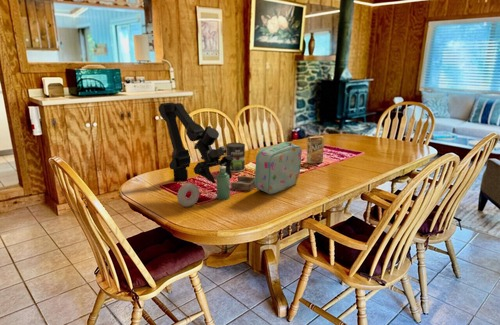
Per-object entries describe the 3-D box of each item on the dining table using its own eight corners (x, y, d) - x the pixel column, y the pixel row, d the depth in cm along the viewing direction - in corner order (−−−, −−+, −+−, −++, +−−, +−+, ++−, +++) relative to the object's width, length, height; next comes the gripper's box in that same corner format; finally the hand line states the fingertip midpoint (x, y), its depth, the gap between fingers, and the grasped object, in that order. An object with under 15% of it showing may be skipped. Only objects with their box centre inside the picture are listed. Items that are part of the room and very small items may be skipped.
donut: (197, 201, 150) (196, 179, 147) (201, 204, 148) (200, 181, 145) (176, 208, 144) (174, 185, 141) (180, 210, 141) (179, 187, 139)
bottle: (217, 200, 152) (216, 169, 148) (216, 195, 157) (215, 165, 153) (230, 199, 153) (229, 168, 149) (228, 194, 158) (228, 164, 154)
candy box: (309, 163, 205) (310, 138, 201) (306, 161, 209) (307, 136, 205) (323, 162, 208) (324, 137, 203) (319, 160, 211) (321, 135, 207)
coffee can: (247, 171, 191) (247, 146, 187) (228, 172, 188) (228, 147, 185) (242, 166, 201) (242, 142, 197) (224, 167, 198) (224, 143, 194)
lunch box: (284, 178, 180) (286, 137, 174) (302, 182, 174) (304, 140, 168) (252, 192, 160) (252, 147, 154) (270, 198, 154) (271, 151, 148)
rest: (231, 188, 165) (231, 182, 165) (238, 181, 175) (238, 175, 174) (250, 190, 163) (250, 184, 162) (257, 183, 172) (257, 177, 172)
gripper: (196, 144, 146) (213, 175, 141) (230, 137, 158) (247, 166, 153) (186, 159, 153) (202, 189, 149) (219, 151, 166) (235, 179, 161)
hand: (222, 180), depth 153 cm, fingers open, 9 cm apart
